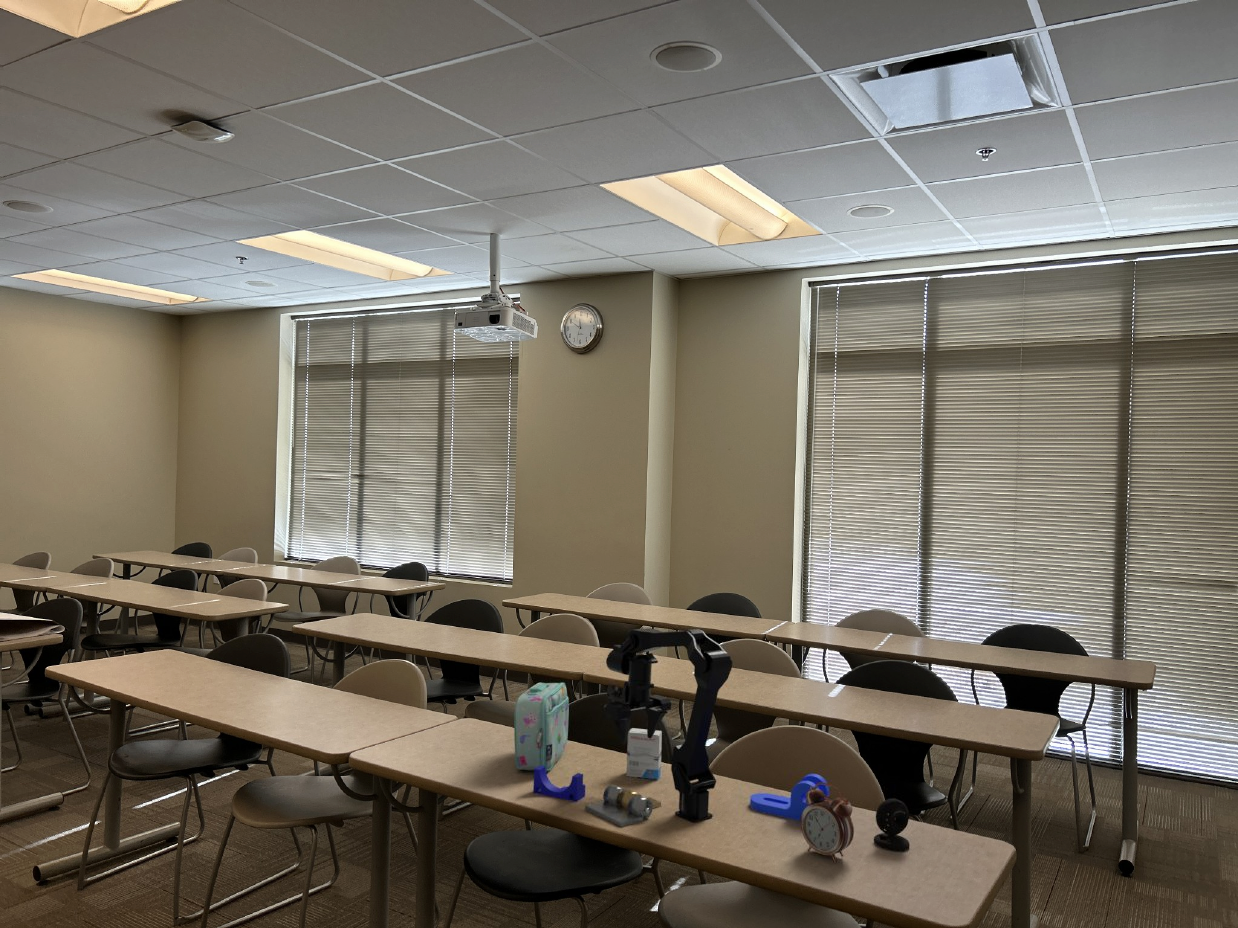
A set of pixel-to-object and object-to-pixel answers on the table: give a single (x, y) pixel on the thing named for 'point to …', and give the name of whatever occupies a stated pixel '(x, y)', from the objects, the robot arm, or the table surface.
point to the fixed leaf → (621, 808)
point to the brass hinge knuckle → (628, 794)
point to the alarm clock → (827, 822)
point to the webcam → (892, 825)
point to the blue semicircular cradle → (548, 789)
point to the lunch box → (541, 726)
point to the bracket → (789, 799)
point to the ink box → (644, 754)
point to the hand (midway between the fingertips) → (636, 740)
